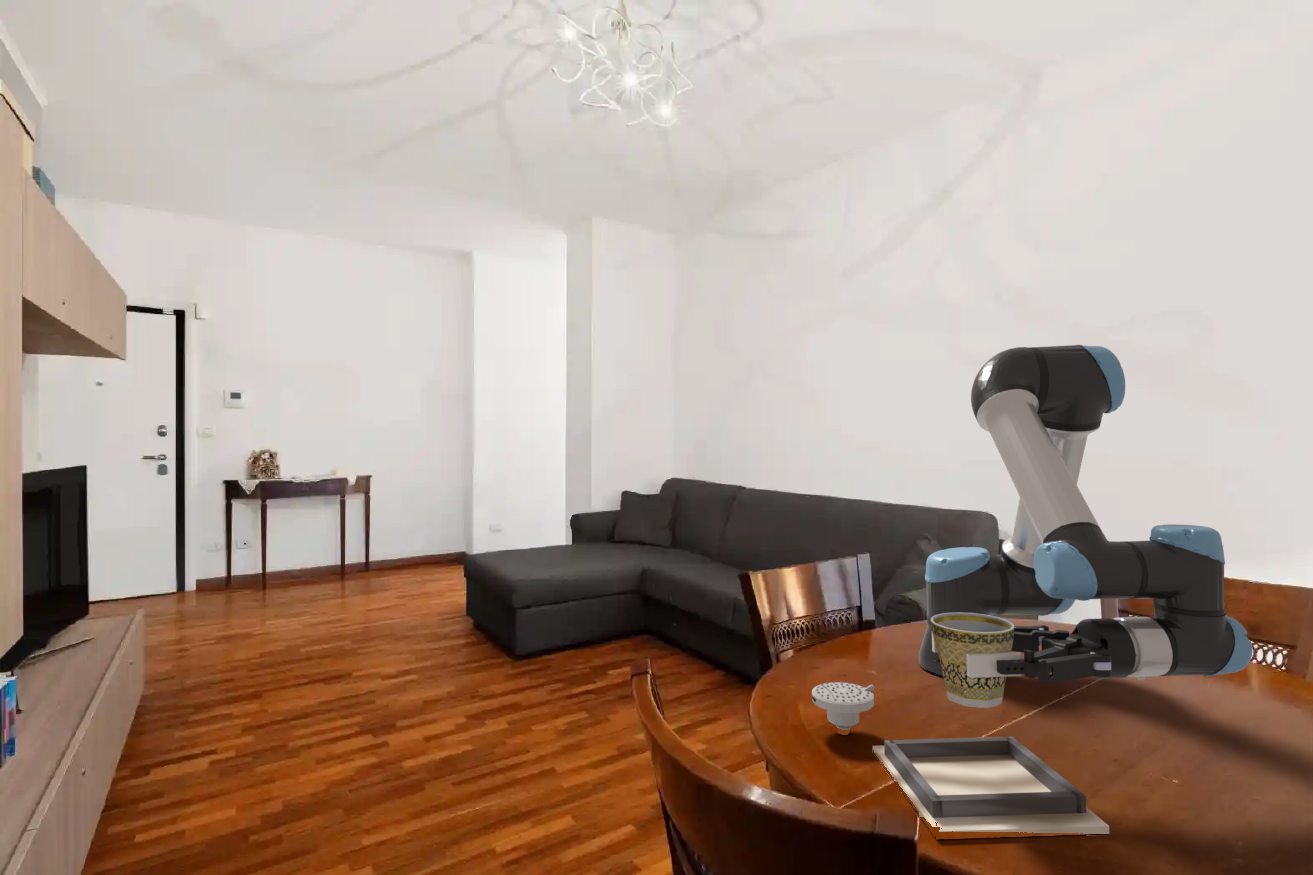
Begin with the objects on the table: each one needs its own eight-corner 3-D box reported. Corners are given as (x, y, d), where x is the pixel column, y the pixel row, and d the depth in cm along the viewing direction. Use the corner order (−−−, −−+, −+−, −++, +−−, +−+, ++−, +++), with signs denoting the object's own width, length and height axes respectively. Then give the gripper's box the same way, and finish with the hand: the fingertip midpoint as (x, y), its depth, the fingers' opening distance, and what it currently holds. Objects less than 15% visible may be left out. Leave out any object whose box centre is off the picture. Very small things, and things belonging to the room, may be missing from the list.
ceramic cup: (980, 719, 82) (978, 636, 82) (915, 693, 91) (913, 618, 91) (1049, 699, 88) (1047, 621, 88) (982, 676, 97) (980, 605, 97)
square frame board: (872, 752, 100) (872, 732, 100) (1007, 748, 100) (1007, 727, 100) (936, 840, 78) (935, 813, 78) (1109, 834, 78) (1108, 808, 78)
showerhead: (887, 695, 103) (822, 699, 102) (888, 743, 103) (824, 747, 102) (863, 674, 112) (803, 677, 111) (864, 718, 112) (805, 722, 111)
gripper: (1186, 708, 79) (994, 715, 78) (1066, 650, 100) (915, 655, 100) (1184, 643, 79) (992, 650, 78) (1065, 599, 100) (914, 604, 100)
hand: (949, 653), depth 89 cm, fingers closed on ceramic cup, 9 cm apart
